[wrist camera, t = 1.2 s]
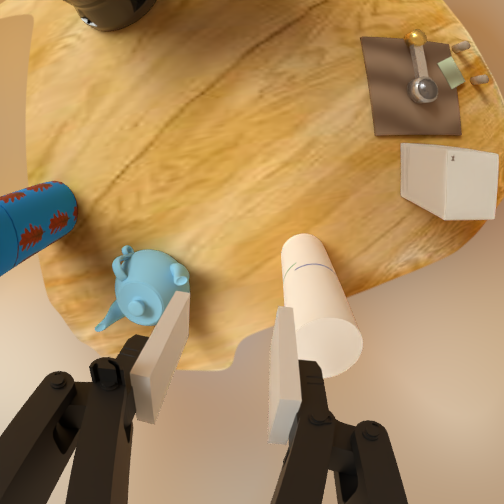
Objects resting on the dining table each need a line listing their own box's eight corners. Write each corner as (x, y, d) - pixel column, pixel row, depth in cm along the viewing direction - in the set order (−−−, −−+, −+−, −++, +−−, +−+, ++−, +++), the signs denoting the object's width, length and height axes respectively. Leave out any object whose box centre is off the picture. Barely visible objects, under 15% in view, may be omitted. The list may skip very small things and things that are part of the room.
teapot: (124, 231, 52) (96, 251, 43) (207, 253, 53) (193, 280, 43) (118, 303, 57) (94, 332, 48) (192, 326, 58) (178, 360, 48)
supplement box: (399, 197, 48) (442, 222, 34) (399, 142, 45) (445, 147, 31) (445, 198, 47) (495, 221, 33) (446, 145, 44) (500, 153, 30)
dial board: (359, 36, 39) (366, 29, 35) (470, 48, 37) (481, 44, 33) (374, 135, 45) (383, 135, 41) (482, 136, 42) (495, 137, 39)
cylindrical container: (331, 264, 52) (371, 361, 29) (292, 281, 54) (303, 387, 30) (315, 226, 50) (349, 305, 27) (273, 244, 52) (274, 335, 28)
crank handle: (430, 104, 41) (441, 102, 37) (408, 103, 41) (418, 101, 38) (418, 36, 37) (428, 30, 33) (397, 34, 37) (405, 27, 34)
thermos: (80, 184, 50) (-23, 224, 26) (77, 241, 54) (-13, 304, 30) (36, 176, 50) (-64, 210, 26) (35, 229, 53) (-54, 281, 30)
